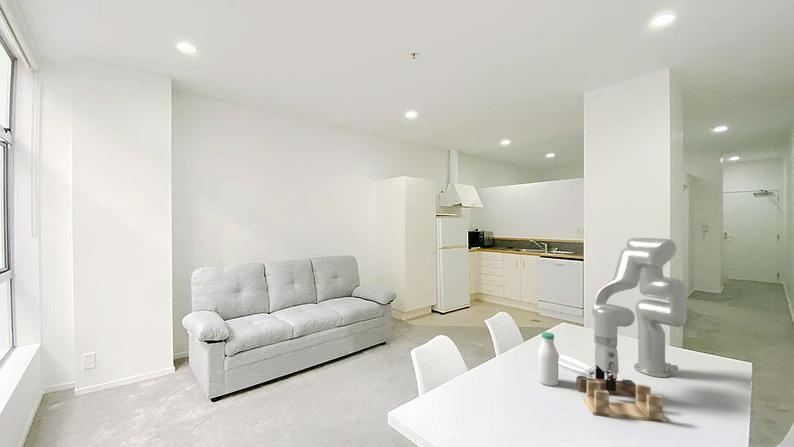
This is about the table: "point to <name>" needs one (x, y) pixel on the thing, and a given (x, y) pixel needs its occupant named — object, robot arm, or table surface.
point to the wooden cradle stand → (625, 404)
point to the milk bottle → (547, 361)
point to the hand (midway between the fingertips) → (605, 384)
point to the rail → (622, 386)
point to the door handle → (581, 371)
